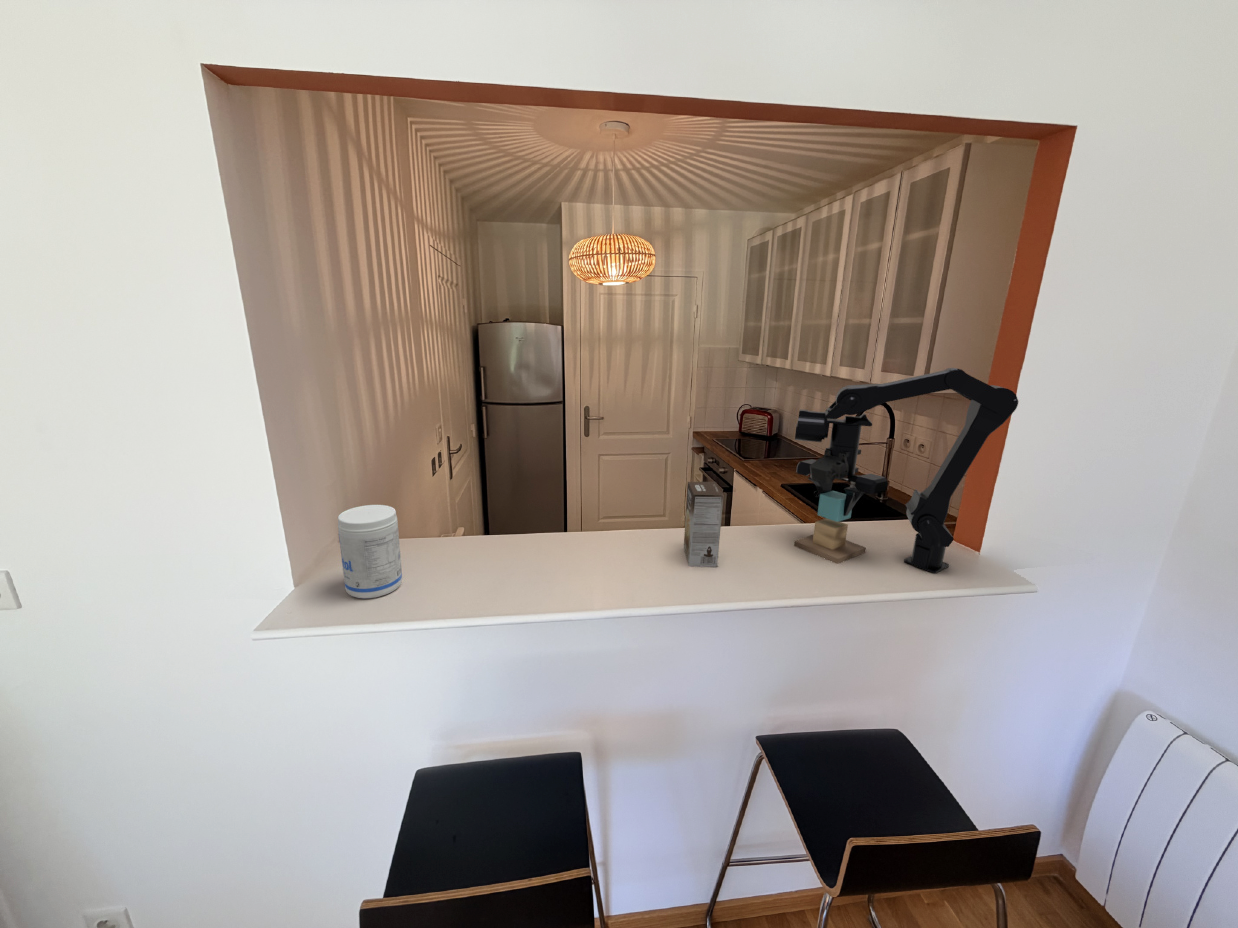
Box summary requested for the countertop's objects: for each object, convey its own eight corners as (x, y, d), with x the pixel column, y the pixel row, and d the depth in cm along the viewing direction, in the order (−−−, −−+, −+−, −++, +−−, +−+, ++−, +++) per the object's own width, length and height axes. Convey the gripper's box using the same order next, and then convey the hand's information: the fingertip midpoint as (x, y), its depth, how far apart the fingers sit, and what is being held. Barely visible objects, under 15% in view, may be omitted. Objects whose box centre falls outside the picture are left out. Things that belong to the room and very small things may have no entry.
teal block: (830, 511, 114) (833, 490, 113) (850, 517, 110) (853, 496, 109) (817, 514, 111) (820, 494, 110) (837, 521, 107) (840, 500, 106)
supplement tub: (337, 588, 90) (326, 513, 87) (388, 570, 97) (380, 500, 94) (360, 606, 84) (350, 527, 81) (413, 586, 92) (406, 512, 88)
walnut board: (821, 538, 120) (822, 531, 120) (864, 555, 112) (866, 547, 111) (793, 548, 114) (794, 540, 114) (837, 567, 105) (838, 558, 105)
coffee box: (682, 548, 111) (686, 480, 107) (710, 549, 111) (715, 481, 107) (688, 567, 102) (693, 493, 98) (718, 567, 102) (725, 494, 98)
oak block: (825, 537, 116) (828, 517, 115) (845, 544, 112) (848, 524, 111) (812, 542, 113) (815, 521, 112) (832, 549, 109) (835, 528, 108)
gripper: (784, 440, 110) (777, 506, 114) (864, 457, 95) (853, 533, 99) (815, 435, 116) (807, 498, 120) (894, 451, 101) (882, 522, 105)
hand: (834, 511), depth 110 cm, fingers closed on teal block, 5 cm apart
